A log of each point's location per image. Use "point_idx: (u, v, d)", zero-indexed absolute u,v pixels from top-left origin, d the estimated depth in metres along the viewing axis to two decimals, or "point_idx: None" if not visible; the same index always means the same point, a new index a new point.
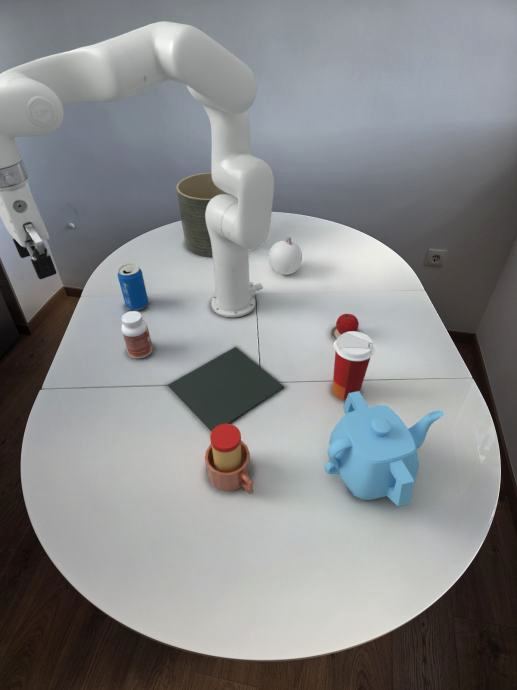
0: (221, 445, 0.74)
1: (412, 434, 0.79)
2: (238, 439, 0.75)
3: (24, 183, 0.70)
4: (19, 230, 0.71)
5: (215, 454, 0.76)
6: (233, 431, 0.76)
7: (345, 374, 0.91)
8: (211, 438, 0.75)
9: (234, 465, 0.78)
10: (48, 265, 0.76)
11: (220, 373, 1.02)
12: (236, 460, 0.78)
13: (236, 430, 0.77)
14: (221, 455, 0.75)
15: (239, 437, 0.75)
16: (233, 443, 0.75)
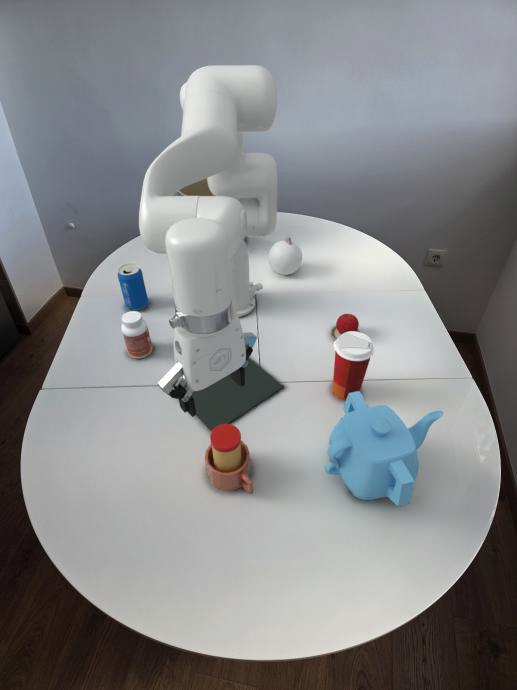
0: (221, 445, 0.74)
1: (412, 434, 0.79)
2: (238, 439, 0.75)
3: (196, 335, 0.56)
4: (175, 361, 0.62)
5: (215, 454, 0.76)
6: (233, 431, 0.76)
7: (345, 374, 0.91)
8: (211, 438, 0.75)
9: (234, 465, 0.78)
10: (183, 406, 0.65)
11: None
12: (236, 460, 0.78)
13: (236, 430, 0.77)
14: (221, 455, 0.75)
15: (239, 437, 0.75)
16: (233, 443, 0.75)
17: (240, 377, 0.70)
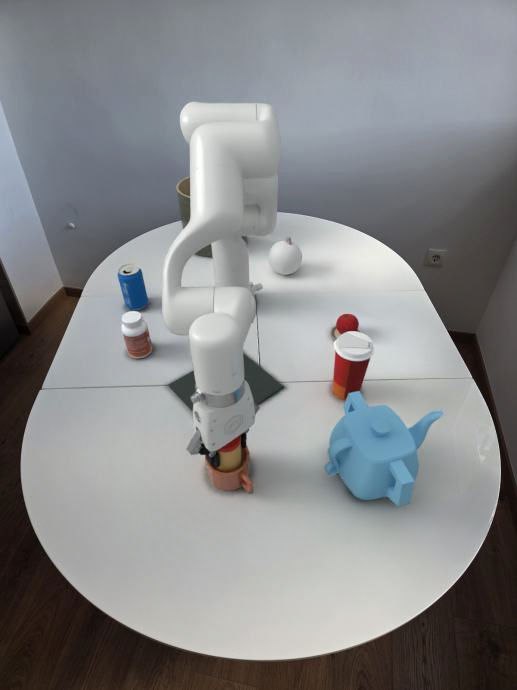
0: None
1: (412, 434, 0.79)
2: (238, 439, 0.75)
3: (213, 409, 0.65)
4: (194, 426, 0.71)
5: None
6: None
7: (345, 374, 0.91)
8: None
9: (234, 465, 0.78)
10: (209, 459, 0.75)
11: None
12: (236, 460, 0.78)
13: None
14: (221, 455, 0.75)
15: (239, 437, 0.75)
16: (233, 443, 0.74)
17: (242, 441, 0.78)
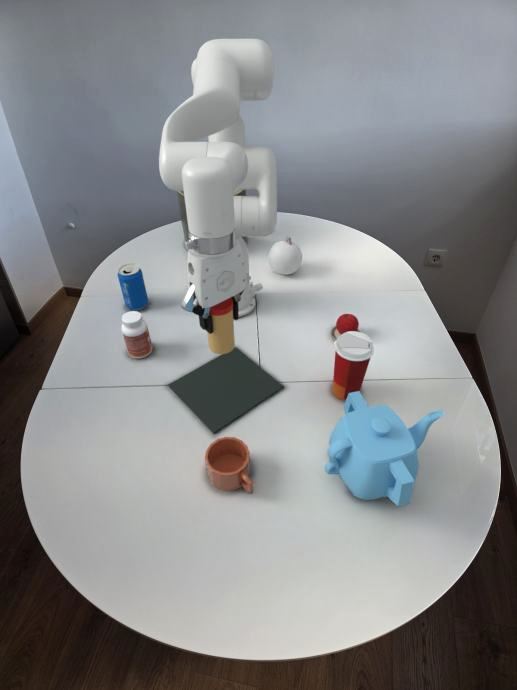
0: (214, 308, 0.78)
1: (412, 434, 0.79)
2: (230, 304, 0.79)
3: (206, 256, 0.69)
4: None
5: None
6: None
7: (345, 374, 0.91)
8: None
9: (226, 333, 0.82)
10: (203, 323, 0.79)
11: (220, 373, 1.02)
12: (229, 329, 0.82)
13: (229, 298, 0.81)
14: (213, 319, 0.79)
15: (231, 303, 0.79)
16: (225, 307, 0.78)
17: (234, 311, 0.82)
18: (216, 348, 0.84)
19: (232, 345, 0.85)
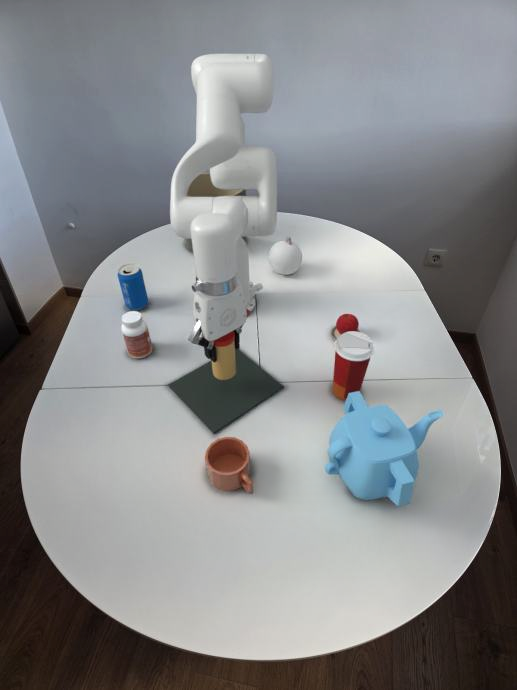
0: (217, 340, 0.87)
1: (412, 434, 0.79)
2: (232, 336, 0.88)
3: (211, 297, 0.78)
4: (194, 319, 0.84)
5: None
6: None
7: (345, 374, 0.91)
8: None
9: (228, 361, 0.91)
10: (208, 353, 0.88)
11: None
12: (231, 357, 0.91)
13: None
14: (217, 349, 0.88)
15: (233, 335, 0.89)
16: (227, 339, 0.88)
17: (236, 341, 0.91)
18: (219, 375, 0.93)
19: (234, 371, 0.94)
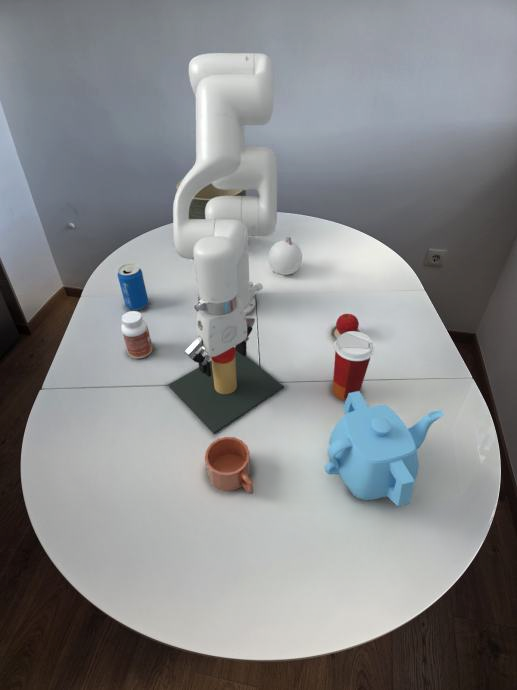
0: (219, 357, 0.91)
1: (412, 434, 0.79)
2: (233, 353, 0.91)
3: (213, 316, 0.81)
4: (197, 336, 0.87)
5: (214, 367, 0.93)
6: None
7: (345, 374, 0.91)
8: None
9: (229, 377, 0.94)
10: (202, 368, 0.90)
11: None
12: (232, 373, 0.94)
13: (232, 347, 0.93)
14: (219, 366, 0.92)
15: (234, 352, 0.92)
16: (228, 356, 0.91)
17: (243, 349, 0.95)
18: (220, 389, 0.97)
19: (235, 386, 0.98)
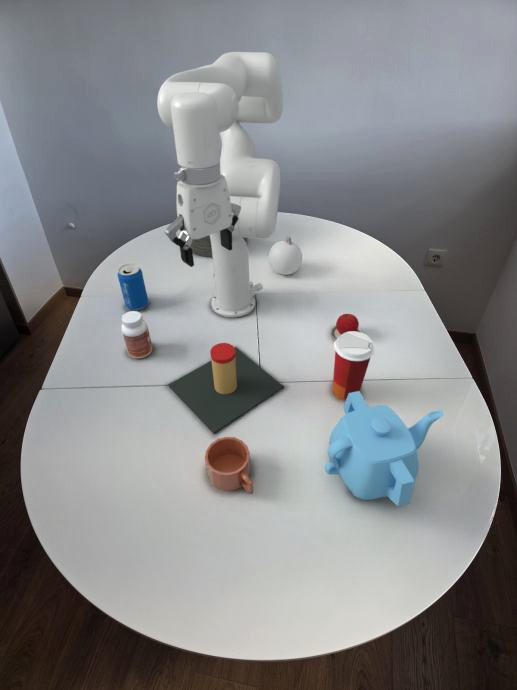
0: (219, 357, 0.91)
1: (412, 434, 0.79)
2: (233, 353, 0.91)
3: (193, 186, 0.76)
4: (177, 216, 0.81)
5: (214, 367, 0.93)
6: (229, 348, 0.93)
7: (345, 374, 0.91)
8: (211, 352, 0.92)
9: (229, 377, 0.94)
10: (184, 255, 0.84)
11: None
12: (232, 373, 0.94)
13: (232, 347, 0.93)
14: (219, 366, 0.92)
15: (234, 352, 0.92)
16: (228, 356, 0.91)
17: (228, 241, 0.89)
18: (220, 389, 0.97)
19: (235, 386, 0.98)
